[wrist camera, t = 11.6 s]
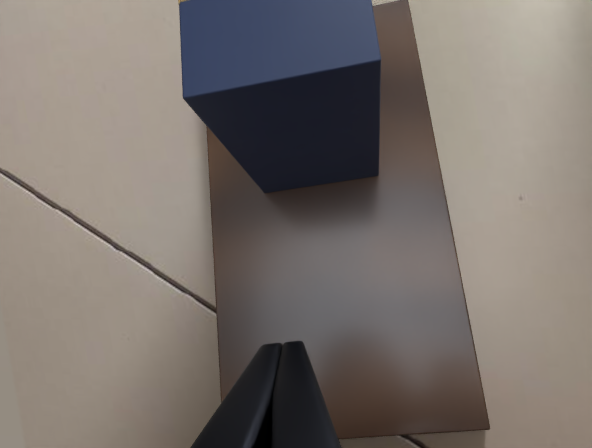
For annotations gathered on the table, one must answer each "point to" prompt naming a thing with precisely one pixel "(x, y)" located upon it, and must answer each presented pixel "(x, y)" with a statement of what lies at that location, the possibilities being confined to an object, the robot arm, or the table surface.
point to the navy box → (286, 86)
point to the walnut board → (355, 271)
